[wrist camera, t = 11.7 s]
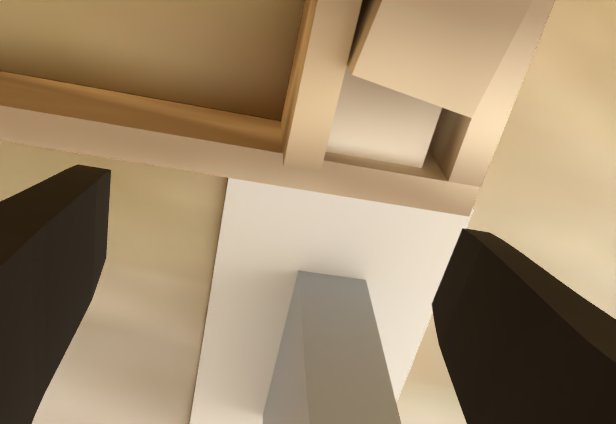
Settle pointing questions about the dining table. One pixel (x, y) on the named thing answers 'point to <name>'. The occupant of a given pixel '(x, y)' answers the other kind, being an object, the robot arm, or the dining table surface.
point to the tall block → (330, 358)
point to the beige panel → (318, 259)
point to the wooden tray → (278, 124)
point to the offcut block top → (435, 47)
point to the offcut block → (381, 123)
